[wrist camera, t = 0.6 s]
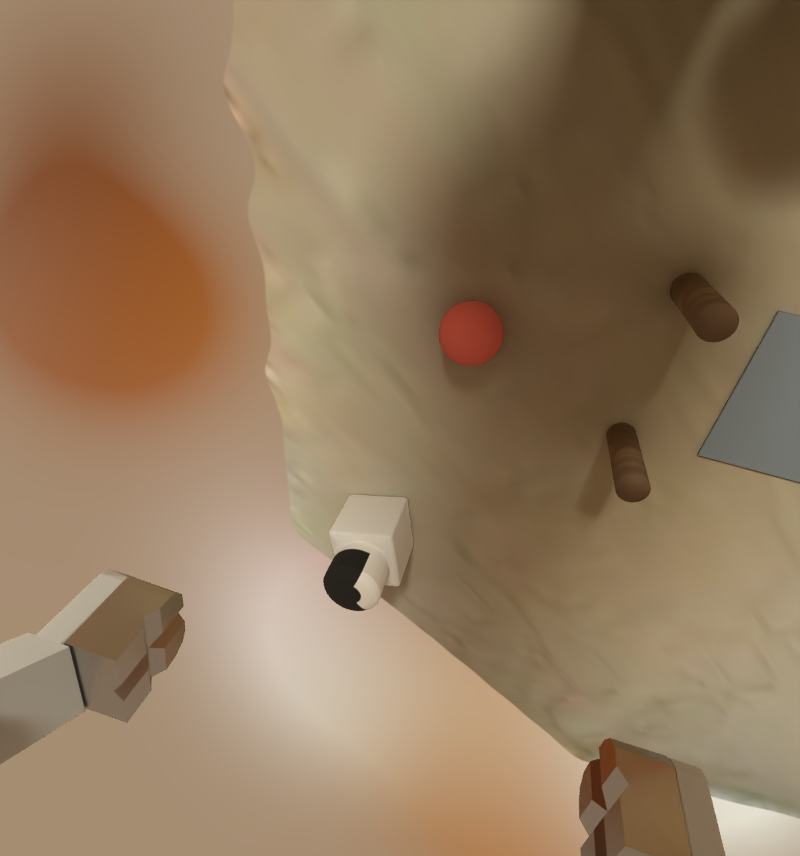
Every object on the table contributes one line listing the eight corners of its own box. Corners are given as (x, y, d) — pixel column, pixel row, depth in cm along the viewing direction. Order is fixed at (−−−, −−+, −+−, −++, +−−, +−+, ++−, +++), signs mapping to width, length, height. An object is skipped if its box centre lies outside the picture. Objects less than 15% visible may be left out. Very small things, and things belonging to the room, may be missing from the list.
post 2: (678, 269, 42) (705, 300, 35) (712, 276, 42) (746, 309, 34) (664, 300, 44) (687, 336, 36) (697, 308, 43) (727, 346, 36)
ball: (452, 287, 48) (440, 304, 43) (513, 301, 47) (508, 320, 42) (439, 344, 50) (427, 366, 46) (496, 358, 50) (490, 383, 45)
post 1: (612, 419, 50) (622, 471, 42) (640, 427, 49) (656, 481, 42) (602, 442, 51) (610, 496, 44) (629, 449, 51) (642, 506, 43)
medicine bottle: (358, 540, 66) (322, 615, 55) (349, 493, 62) (309, 563, 52) (414, 544, 64) (387, 623, 53) (408, 496, 60) (378, 570, 50)
